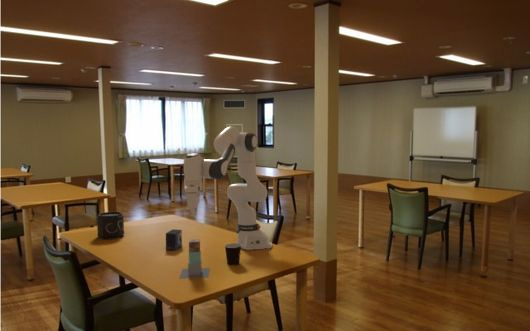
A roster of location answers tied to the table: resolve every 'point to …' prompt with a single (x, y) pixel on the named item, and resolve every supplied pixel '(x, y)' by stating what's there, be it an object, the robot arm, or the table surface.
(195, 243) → the walnut block
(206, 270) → the mat
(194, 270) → the slate block
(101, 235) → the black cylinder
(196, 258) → the teal block
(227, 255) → the coffee mug
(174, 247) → the small box
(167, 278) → the table surface
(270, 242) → the robot arm
